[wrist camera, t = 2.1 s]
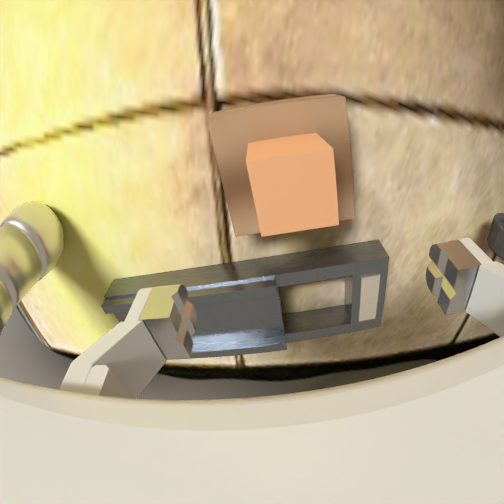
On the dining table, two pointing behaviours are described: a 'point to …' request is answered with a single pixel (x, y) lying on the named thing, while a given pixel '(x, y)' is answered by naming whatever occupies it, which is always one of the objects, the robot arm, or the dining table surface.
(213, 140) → the brown square plate
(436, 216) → the dining table surface
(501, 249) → the tankard
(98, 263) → the dining table surface
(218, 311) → the grey slotted tray
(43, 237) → the plastic bottle
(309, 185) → the peach foam cube
